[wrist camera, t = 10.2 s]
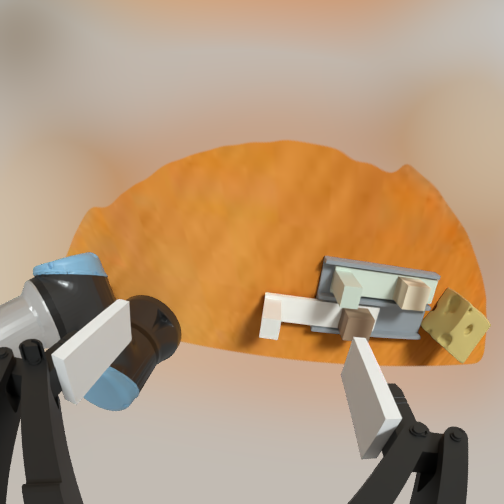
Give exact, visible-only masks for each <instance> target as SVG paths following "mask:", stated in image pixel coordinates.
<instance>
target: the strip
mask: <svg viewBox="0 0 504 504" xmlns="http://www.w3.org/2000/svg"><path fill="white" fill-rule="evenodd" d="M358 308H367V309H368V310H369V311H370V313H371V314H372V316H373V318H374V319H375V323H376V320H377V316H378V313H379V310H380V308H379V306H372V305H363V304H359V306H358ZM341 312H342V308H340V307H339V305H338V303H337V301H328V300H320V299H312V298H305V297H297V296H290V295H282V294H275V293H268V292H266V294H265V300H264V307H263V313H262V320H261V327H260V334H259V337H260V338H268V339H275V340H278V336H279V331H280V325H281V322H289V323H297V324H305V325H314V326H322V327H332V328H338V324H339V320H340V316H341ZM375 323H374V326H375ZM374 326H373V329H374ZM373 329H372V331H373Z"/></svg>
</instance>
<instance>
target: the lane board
mask: <svg viewBox="0 0 504 504" xmlns="http://www.w3.org/2000/svg"><path fill="white" fill-rule="evenodd" d="M335 265H340V266H347V267H354V268H361V269H368V270H375V271H382V272H389V273H396V274H403V275H410V276H417V277H424V278H431V279H438V280H440V277H441V276H439V275H438V274H437V273H435V272H430V271H423V270H417V269H410V268H403V267H397V266H390V265H383V264H377V263H370V262H363V261H357V260H350V259H343V258H336V257H329V256H324V261H323V267H322V272H321V277H320V282H319V286H318V291H317V296H316V299H320V300H328V301H336V298H335V296H334V294H333V293H331V292H330V287H331V282H332V277H333V273H334V268H335ZM359 304H363V305H372V306H379V308H380V310H379V313H378V316H377V320H376V323H375V326H374V329H373V331H372V332H371V335H370V337H381V338H397V339H418V340H420V337H421V336H420V335H419V334H418V330H419V327H420V325H421V322H422V319H423V316H424V313H425V310H426V311H430V310H431V307H430V306H429V305H428V303H427V304H426V307H425V310H424V311H416V310H405V309H401V308H400V307H399V305H398V304H397V303H396V302H395V301H394V300H390V299H381V298H372V297H364V296H361V298H360V302H359ZM310 327H311V331H314V332H323V333H333V334H340V332H339V329H338V328H332V327H322V326H314V325H310Z"/></svg>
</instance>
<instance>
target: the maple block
mask: <svg viewBox="0 0 504 504" xmlns="http://www.w3.org/2000/svg"><path fill="white" fill-rule="evenodd" d="M430 291H431V288H430V287H429V286H428V285H426V284H425V283H424V282H423V281H421V280H420V279H414V278H407V277H400V276H398V280H397V283H396V287H395V291H394V294H393V300H394V301H395V302H396V303H397V304H398V305H399V307H400V308H401V309H405V310H416V311H424V310H425V307H426V304H427V301H428V298H429V295H430Z"/></svg>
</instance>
